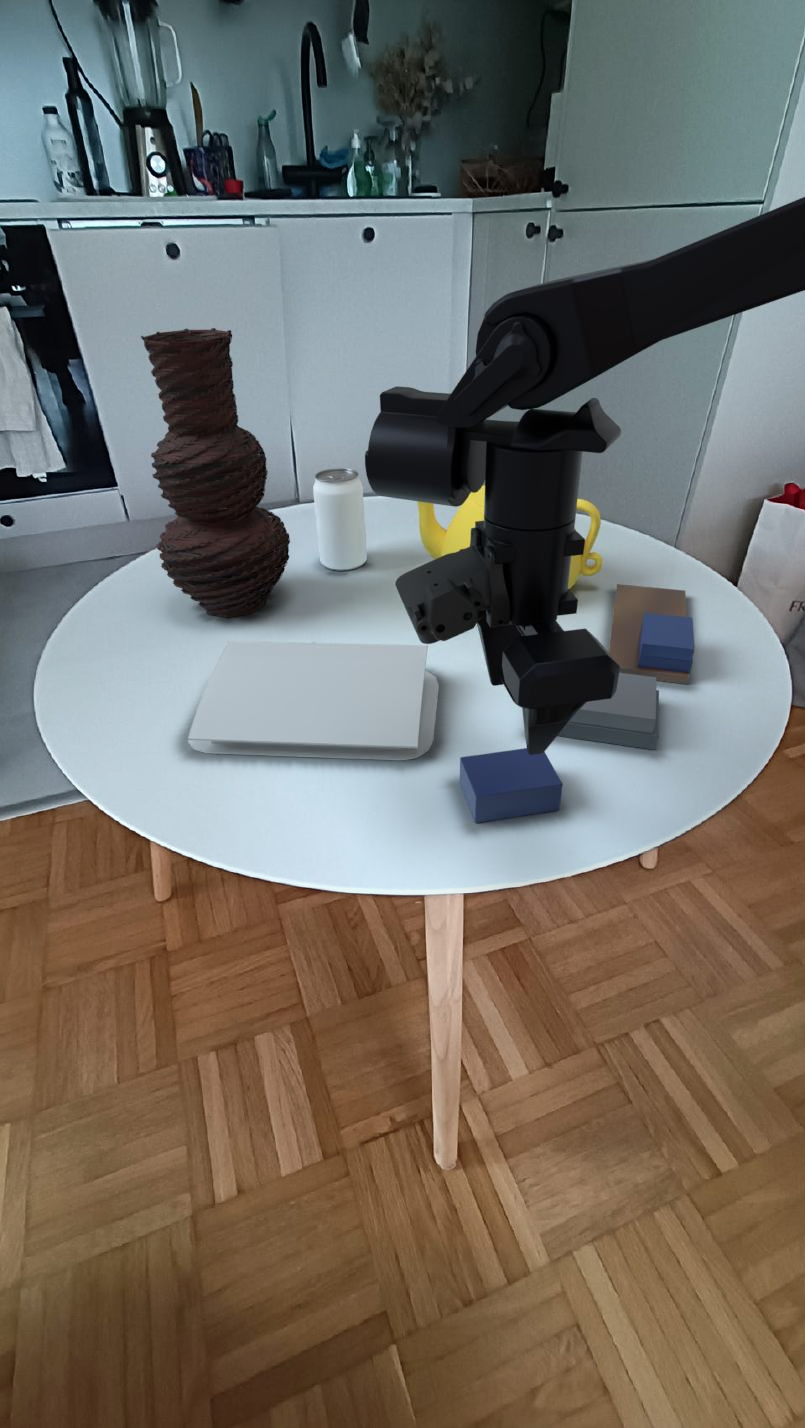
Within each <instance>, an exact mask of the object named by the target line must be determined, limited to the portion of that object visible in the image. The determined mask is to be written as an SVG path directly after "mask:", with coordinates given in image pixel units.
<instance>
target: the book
mask: <svg viewBox="0 0 805 1428" xmlns="http://www.w3.org/2000/svg"><path fill="white" fill-rule="evenodd" d="M428 648H429V644H424V645H423V644H419V645H418V644H384V643H383V644H381V643H380V644H376V643H341V642H340V643H338V642H337V643H336V642H294V641H293V642H291V641H251V640H250V641H245V640H228V641H227V643H226V644H225V646H224V647H223V649H222V651H221V653H220V655H219V657H218V659H217V661H216V664H215V665H214V667H213V670H212V672H211V674H210V676H209V678H208V680H207V683H206V685H205V687H204V690H203V692H202V695H201V697H200V701H199V703H198V705H197V709H196V711H195V715H194V717H193V721H192V724H191V727H190V730H189V734H188V737H187V743H188V744H189V745H190V747H191V748H192V749H193V750H194V751H196V752H201V753H205V754H217V755H218V754H220V755H243V756H247V755H248V756H269V757H295V758H298V757H299V758H323V759H327V758H328V759H349V760H350V759H353V760H374V761H375V760H377V761H378V760H379V761H407V760H413V759H418V758H419V757H421V756H423V755H424V754H426V753H427V752H429V751H430V749H431V747H432V745H433V743H434V741H435V739H434V738H435V729H436V728H435V727H436V719H437V710H438V708H437V707H438V698H439V687H440V686H439V685H440V684H439V682H438V678H437V676H435V675H434V674H433V673H431V672H429V671H428V670H426V665H427V658H428V657H427V656H428Z"/></svg>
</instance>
